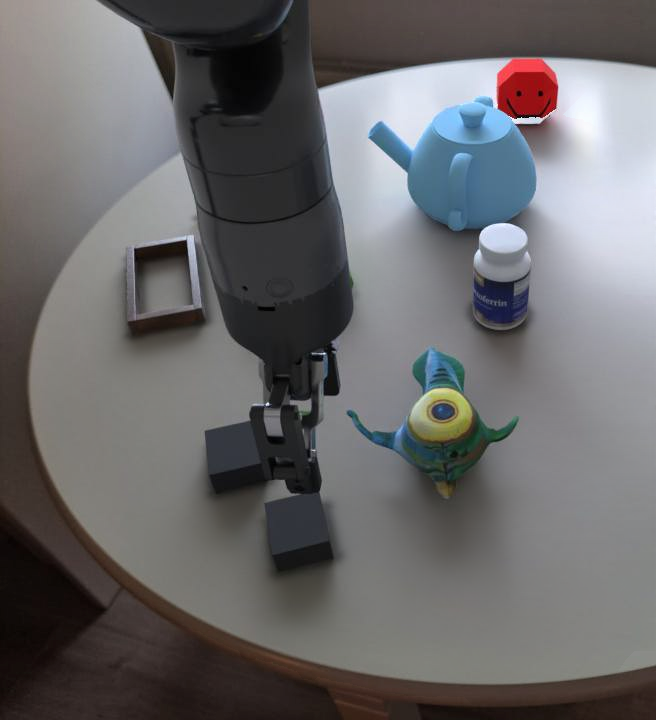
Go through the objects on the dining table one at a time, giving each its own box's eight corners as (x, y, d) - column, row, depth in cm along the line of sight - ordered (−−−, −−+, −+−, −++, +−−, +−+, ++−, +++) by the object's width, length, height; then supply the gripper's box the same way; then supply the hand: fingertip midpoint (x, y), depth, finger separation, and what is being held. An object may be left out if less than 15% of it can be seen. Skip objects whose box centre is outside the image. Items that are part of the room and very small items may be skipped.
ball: (498, 132, 110) (500, 79, 104) (495, 103, 115) (496, 51, 110) (556, 132, 110) (561, 79, 105) (550, 103, 116) (555, 51, 110)
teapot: (523, 260, 90) (530, 162, 81) (351, 239, 93) (339, 141, 84) (543, 166, 104) (551, 73, 95) (393, 150, 106) (386, 57, 97)
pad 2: (277, 572, 63) (272, 555, 61) (269, 520, 66) (264, 502, 64) (333, 558, 64) (329, 540, 62) (322, 507, 67) (318, 489, 65)
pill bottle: (461, 317, 84) (461, 240, 77) (492, 288, 87) (495, 212, 80) (507, 340, 82) (512, 263, 74) (537, 309, 85) (544, 232, 78)
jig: (132, 335, 81) (127, 321, 80) (130, 258, 90) (125, 245, 88) (205, 321, 83) (201, 308, 82) (197, 247, 91) (193, 234, 90)
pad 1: (215, 493, 68) (208, 475, 66) (210, 448, 71) (204, 430, 69) (268, 481, 69) (262, 462, 67) (261, 437, 72) (256, 418, 70)
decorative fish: (538, 433, 73) (542, 389, 69) (447, 520, 66) (446, 477, 62) (433, 366, 79) (431, 321, 75) (341, 439, 72) (333, 395, 68)
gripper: (240, 180, 50) (282, 363, 61) (173, 341, 40) (238, 524, 51) (362, 183, 49) (381, 366, 61) (325, 346, 40) (356, 527, 51)
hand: (316, 438), depth 56 cm, fingers open, 8 cm apart
